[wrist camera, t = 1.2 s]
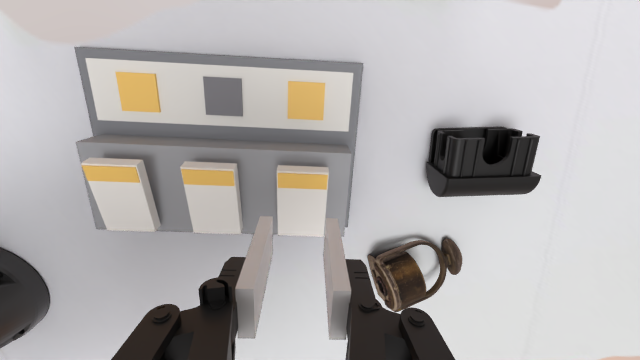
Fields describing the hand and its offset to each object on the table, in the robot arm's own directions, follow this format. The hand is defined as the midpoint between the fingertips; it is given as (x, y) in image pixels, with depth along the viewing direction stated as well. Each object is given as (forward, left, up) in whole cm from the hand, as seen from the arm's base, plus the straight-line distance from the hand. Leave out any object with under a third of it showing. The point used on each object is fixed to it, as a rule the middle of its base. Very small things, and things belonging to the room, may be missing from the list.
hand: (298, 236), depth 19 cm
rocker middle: (-9, -3, -12) cm, 15 cm away
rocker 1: (-18, -3, -12) cm, 22 cm away
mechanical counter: (+16, -15, -19) cm, 29 cm away
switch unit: (-9, +1, -19) cm, 21 cm away
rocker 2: (0, -3, -12) cm, 12 cm away
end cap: (+20, +1, -19) cm, 28 cm away
